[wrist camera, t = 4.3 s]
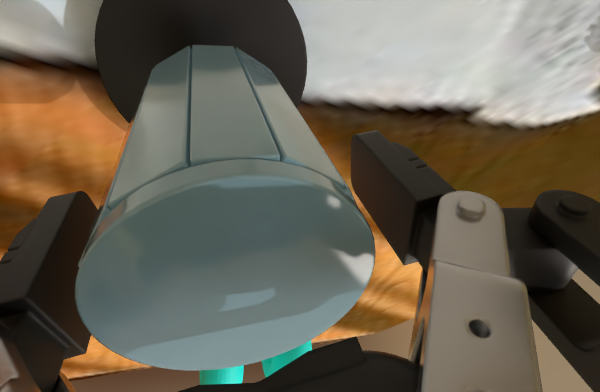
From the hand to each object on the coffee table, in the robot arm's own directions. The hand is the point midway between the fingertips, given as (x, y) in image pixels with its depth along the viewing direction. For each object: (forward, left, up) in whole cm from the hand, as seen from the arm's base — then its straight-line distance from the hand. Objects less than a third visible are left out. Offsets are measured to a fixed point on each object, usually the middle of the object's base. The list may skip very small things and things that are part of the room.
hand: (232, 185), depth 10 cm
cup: (0, 0, -5) cm, 5 cm away
